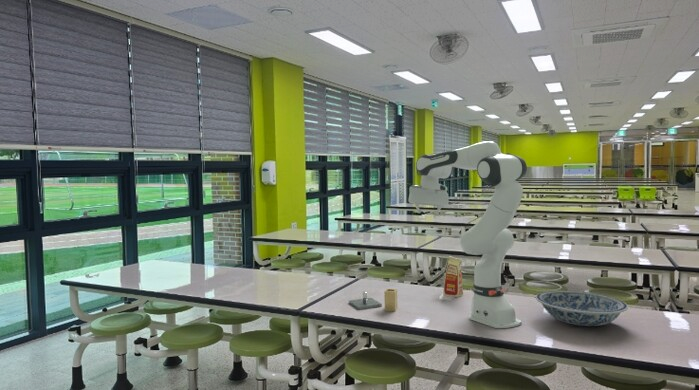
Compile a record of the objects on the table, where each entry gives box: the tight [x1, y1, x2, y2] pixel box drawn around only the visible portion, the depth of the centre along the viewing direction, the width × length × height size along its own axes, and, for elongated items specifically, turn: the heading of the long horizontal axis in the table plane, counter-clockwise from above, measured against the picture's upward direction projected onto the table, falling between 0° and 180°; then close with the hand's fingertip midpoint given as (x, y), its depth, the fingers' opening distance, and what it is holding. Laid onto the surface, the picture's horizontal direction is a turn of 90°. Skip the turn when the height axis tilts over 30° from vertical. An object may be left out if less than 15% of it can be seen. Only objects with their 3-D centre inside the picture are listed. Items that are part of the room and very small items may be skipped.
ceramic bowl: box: [535, 290, 629, 327], centre depth 192 cm, size 34×34×10 cm
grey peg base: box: [348, 291, 382, 311], centre depth 224 cm, size 12×12×6 cm
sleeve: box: [384, 288, 398, 312], centre depth 216 cm, size 5×5×9 cm
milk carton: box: [442, 255, 464, 298], centre depth 238 cm, size 9×9×20 cm
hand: (427, 213), depth 229 cm, fingers open, 8 cm apart
